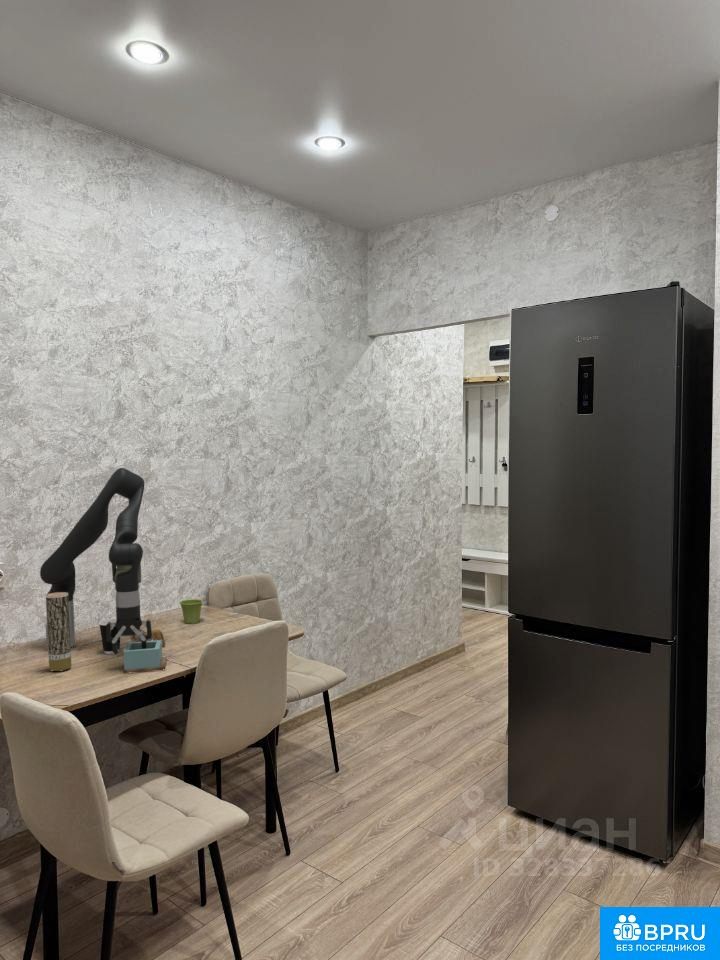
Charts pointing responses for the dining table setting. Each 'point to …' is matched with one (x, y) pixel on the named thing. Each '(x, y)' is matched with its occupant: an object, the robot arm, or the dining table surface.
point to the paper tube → (58, 631)
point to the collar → (143, 655)
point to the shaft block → (162, 666)
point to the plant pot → (191, 610)
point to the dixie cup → (108, 645)
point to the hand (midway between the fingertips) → (129, 652)
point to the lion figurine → (155, 636)
